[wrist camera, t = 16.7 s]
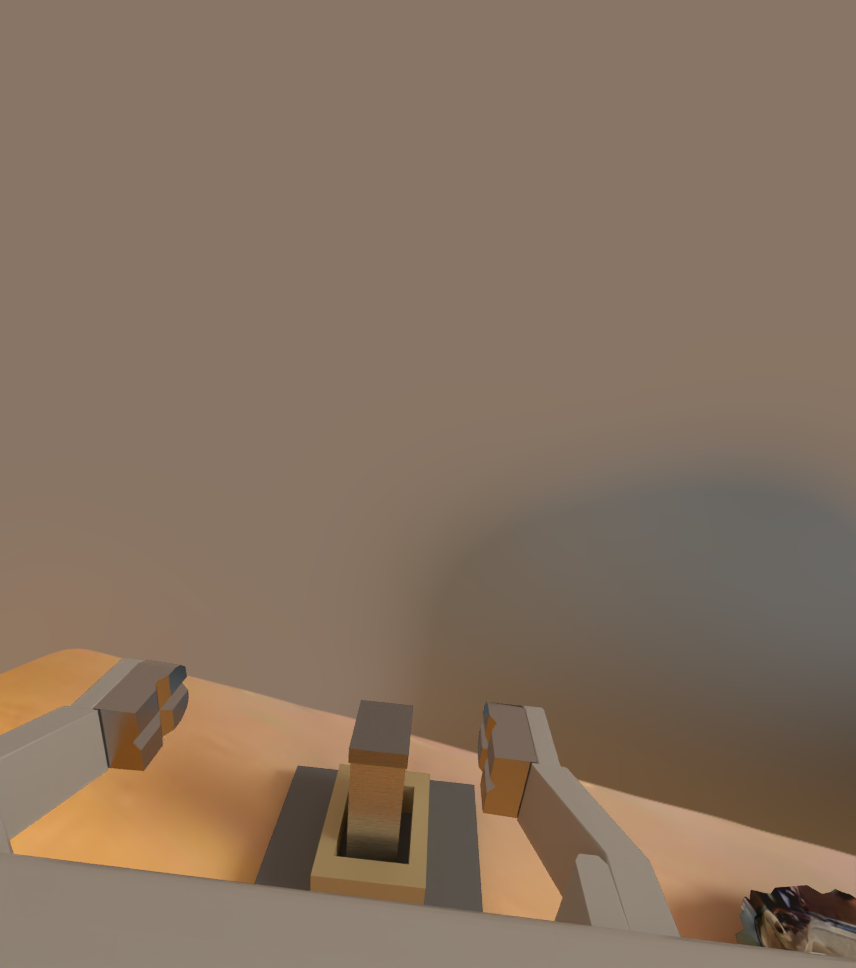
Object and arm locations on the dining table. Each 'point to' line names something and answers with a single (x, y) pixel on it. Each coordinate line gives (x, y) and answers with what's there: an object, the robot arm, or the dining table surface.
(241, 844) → the dining table surface
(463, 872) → the keeper plate
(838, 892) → the baking tray
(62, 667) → the dining table surface
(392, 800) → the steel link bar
